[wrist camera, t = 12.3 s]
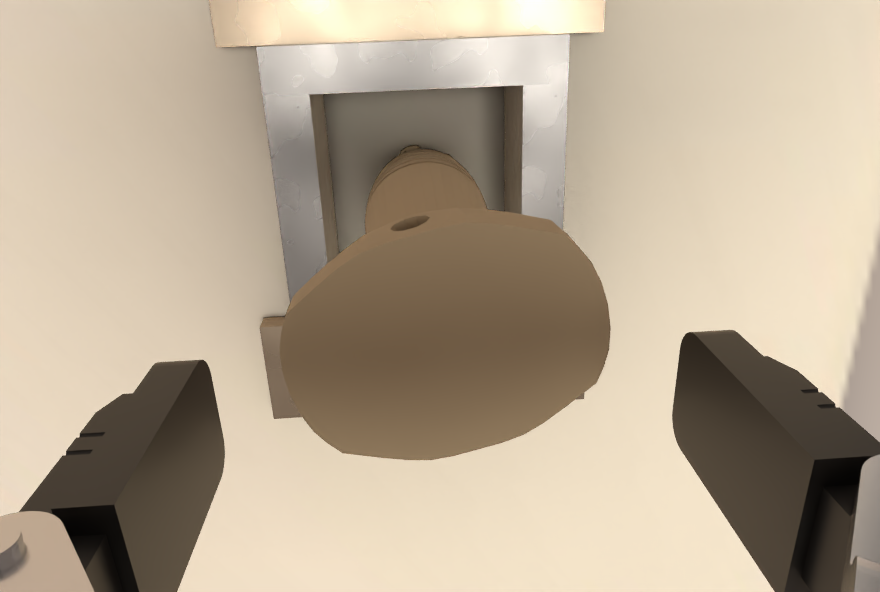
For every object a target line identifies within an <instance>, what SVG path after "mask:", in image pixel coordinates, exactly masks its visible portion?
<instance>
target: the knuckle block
mask: <svg viewBox="0 0 880 592" xmlns="http://www.w3.org/2000/svg"><path fill="white" fill-rule="evenodd" d="M605 2H606V0H209V5H210V12H211V18H212V25H213V31H214V37H215V44H216V47H237V46H260V47H256V51H257V59H258V66H259V74H260V81H261V89H262V96H263V104H264V111H265V119H266V126H267V133H268V141H269V148H270V156H271V163H272V171H273V178H274V186H275V193H276V201H277V208H278V215H279V223H280V230H281V238H282V245H283V253H284V260H285V268H286V275H287V283H288V290H289V298H290V303H291V300H292V298H293V296H294V295H295V294H296V293H297V292H298V291H299V290H300V289H301V288H302V287H303V286H304V285H305V284H306V283H307V282H308V281H309V280H310V279H311V278H312V277H313V276H314V275H315V274H316V273H318V272H319V271H320V270H321V269H322V268H323V267H324V266H325V265H326V264H327V263H329V262H330V261H331V260H332V259H334V258H335V257H336V256H337V255H338V254H339V248H338V238H337V228H336V218H335V208H334V198H333V188H332V178H331V168H330V158H329V148H328V138H327V128H326V118H325V108H324V98H323V94H333V93H356V92H379V91H402V90H425V89H449V88H472V87H495V86H505V105H504V212H511V213H517V214H523V215H528V216H533V217H538V218H543V219H549V220H551V221H553V222H554V223H555V224H556V225H557V226H558V227H560V228H561V229H562V230H563V212H564V185H565V157H566V130H567V102H568V75H569V47H570V34H562V33H587V32H604V21H605ZM262 45H269V46H262ZM284 319H285V317H267V318H264V319H263V321H262V323H261V326H260V333H261V339H262V346H263V352H264V358H265V365H266V371H267V378H268V384H269V391H270V397H271V403H272V410H273V416H274V419H279V418H294V417H302V416H301V414H300V413H299V411H298V409H297V407H296V405H295V403H294V401H293V400H292V398H291V396H290V394H289V391H288V388H287V385H286V382H285V379H284V376H283V373H282V366H281V359H280V352H279V349H280V339H281V331H282V327H283V323H284ZM576 399H584V393H583V394H581V395H580V396H579V397H578V398H576Z"/></svg>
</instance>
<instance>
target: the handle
mask: <svg viewBox="0 0 880 592" xmlns="http://www.w3.org/2000/svg"><path fill="white" fill-rule="evenodd" d="M365 230H366V234H365V235H363V236H362V237H361V238H359V239H358V240H356V241H355V242H354V243H352V244H351V245H350V246H348V247H347V248H346V249H344V250H343V251H342V252H341V253H340V254H338V255H337V256H336V257H335V258H334V259H332V260H331V261H330V262H329V263H327V264H326V265H325V266H324V267H323V268H322V269H321V270H320V271H319V272H318V273H316V274H315V275H314V276H313V277H312V278H311V279H310V280H309V281H308V282H307V283H306V284H305V285H304V286H303V287H302V288H301V289H300V290H299V291H298V292H297V293H296V294H295V295H294V296H293V298H292V300H291V303H290V305H289V307H288V310H287V313H286V315H285V319H284V323H283V327H282V331H281V339H280V349H279V352H280V359H281V366H282V373H283V376H284V379H285V382H286V385H287V388H288V391H289V394H290V396H291V398H292V400H293V401H294V403H295V405H296V407H297V409H298V411H299V413H300V414H301V416H302V417H303V418H304V420H305V421H306V422H307V424H308V425H309V426H310V427H311V429H312V430H313V431H314V432H315V433H316V434H317V435H318V436H320V437H321V438H322V439H323V440H324V441H326V442H327V443H328V444H330V445H331V446H333V447H334V448H336V449H337V450H339V451H341V452H342V453H346V454H355V455H363V456H372V457H381V458H392V459H403V460H434V459H439V458H444V457H450V456H455V455H459V454H462V453H466V452H470V451H473V450H477V449H481V448H484V447H488V446H492V445H495V444H499V443H502V442H505V441H508V440H510V439H513V438H516V437H518V436H521V435H524V434H525V433H527V432H529V431H531V430H532V429H534V428H536V427H537V426H539V425H541V424H542V423H544V422H545V421H547V420H548V419H550V418H551V417H552V416H554V415H555V414H556V413H558V412H559V411H560V410H562V409H563V408H565V407H566V406H567V405H568V404H570V403H571V402H572V401H574V400H575V399H576V398H578V397H579V396H580V395H581V394H583V393H584V392H585V391H587V390H588V389H589V388H590V387H592V386H593V385H594V384H596V382H597V380H598V378H599V376H600V374H601V372H602V369H603V367H604V364H605V361H606V357H607V354H608V351H609V341H610V319H609V310H608V303H607V300H606V296H605V293H604V290H603V286H602V283H601V280H600V278H599V277H598V275H597V273H596V271H595V269H594V267H593V265H592V263H591V261H590V260H589V259H588V258H587V256H586V255H585V254H584V253H583V252H582V251H581V249H580V248H579V247H578V246H577V245H576V244H575V242H574V241H573V240H572V239H571V238H570V237H569V236H568V235H567V234H566V233H565V232H564V231H563V230H562V229H561V228H560V227H558V226H557V225H556V224H555V223H554V222H553V221H551V220H549V219H543V218H538V217H533V216H528V215H523V214H517V213H511V212H504V211H496V210H487V207H486V204H485V201H484V198H483V196H482V194H481V192H480V190H479V188H478V186H477V184H476V182H475V181H474V179H473V178H472V176H471V175H470V174H469V173H468V171H467V170H466V169H465V168H464V167H463V166H461V165H460V164H459V163H458V162H457V161H456V160H454V159H453V158H452V157H451V156H450V155H449V154H444V153H442V152H439V151H435V150H431V149H421V148H420V147H419V146H418V145H413V146H408V147H406V148H404V149H402V150H401V152H400V155H399V156H397V157H395V158H394V159H393V160H391V161H390V162H389V163H388V164H387V165H386V166H385V167H384V168H383V170H382V171H381V172H380V174H379V175H378V177H377V179H376V181H375V183H374V185H373V187H372V189H371V192H370V195H369V198H368V202H367V208H366V215H365Z"/></svg>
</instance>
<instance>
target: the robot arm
mask: <svg viewBox="0 0 880 592" xmlns="http://www.w3.org/2000/svg"><path fill="white" fill-rule="evenodd" d="M672 419H673V429H674V434H675V437H676V440H677V443H678V445H679V447H680V449H681V451H682V452H683V454H684V455H685V457H686V458H687V460H688V461H689V463H690V464H691V466H692V467H693V469H694V470H695V472H696V473H697V475H698V476H699V478H700V479H701V481H702V482H703V484H704V485H705V487H706V489H707V490H708V492H709V493H710V495H711V496H712V498H713V499H714V501H715V502H716V504H717V505H718V507H719V508H720V510H721V511H722V513H723V514H724V516H725V517H726V519H727V520H728V522H729V523H730V525H731V526H732V528H733V529H734V531H735V532H736V534H737V535H738V537H739V538H740V540H741V541H742V543H743V544H744V546H745V547H746V549H747V550H748V552H749V553H750V555H751V556H752V558H753V559H754V561H755V562H756V564H757V566H758V567H759V569H760V570H761V572H762V573H763V575H764V576H765V578H766V579H767V581H768V582H769V584H770V585H771V587H772V588H773V590H774V591H775V592H880V442H878V441H877V440H876V439H875V438H874V437H873V436H872V435H870V434H869V433H868V432H867V431H866V430H864V428H862V427H861V426H860V425H859V424H858V423H857V422H856V421H854V420H853V419H852V418H851V417H850V416H849V415H847V414H846V413H845V412H844V411H843V410H842V409H841V408H836V407H835V403H834V402H833V401H831V400H830V399H829V398H828V397H827V396H826V395H825V394H823V393H822V392H818V388H817V387H815V386H814V385H813V384H812V383H811V382H810V381H808V380H807V379H806V378H805V377H804V376H803V375H802V374H800V373H799V372H798V371H797V370H795V369H793V368H791V367H789V366H786V365H784V364H782V363H780V362H778V361H776V360H774V359H772V358H770V357H768V356H765V357H764V356H763V355H761V354H760V353H759V352H758V351H757V350H756V349H755V348H754V347H753V346H752V345H750V344H749V343H748V342H747V341H746V340H745V339H744V338H743V337H742V336H741V335H740V334H738V333H737V332H736V331H734V330H722V331H705V332H689V333H687V334H686V335H685V336H684V337H683V340H682V343H681V347H680V355H679V363H678V371H677V379H676V387H675V396H674V404H673V413H672ZM224 458H225V449H224V439H223V433H222V428H221V423H220V418H219V413H218V408H217V403H216V398H215V393H214V387H213V382H212V377H211V373H210V369H209V367H208V364H207V363H206V362H205V361H204V360H192V361H175V362H158V363H155V364H154V365H153V366H152V368H151V369H150V371H149V372H148V373H147V375H146V376H145V378H144V379H143V380H142V382H141V383H140V385H139V386H138V387H137V389H136V390H135V392H134V393H133V394H122V395H121V396H119V397H118V398H116V399H115V400H114V401H112V402H111V403H109V404H108V405H106V406H105V407H103V408H102V409H101V410H99V411H98V412H96V413H95V414H94V416H93V417H92V418H91V420H90V421H89V422H88V424H87V425H86V426H85V427H84V429H83V430H82V431H81V433H80V438H76V439H75V440H74V442H73V443H72V444H71V445H70V447H69V448H68V449H67V451H66V456H62V457H61V458H60V460H59V461H58V462H57V464H56V465H55V466H54V467H53V469H52V470H51V471H50V473H49V474H48V475H47V476H46V478H45V479H44V480H43V482H42V483H41V484H40V485H39V487H38V488H37V489H36V491H35V492H34V493H33V495H32V496H31V497H30V498H29V500H28V501H27V502H26V504H25V505H24V506H23V507H22V509H21V510H20V511H19V512H17V513H12V514H8V515H4V516H1V517H0V592H177V590H178V588H179V585H180V583H181V580H182V578H183V575H184V572H185V570H186V567H187V565H188V562H189V560H190V557H191V554H192V552H193V549H194V547H195V544H196V542H197V539H198V536H199V534H200V531H201V529H202V526H203V523H204V521H205V518H206V516H207V513H208V511H209V508H210V505H211V503H212V500H213V498H214V495H215V493H216V490H217V487H218V485H219V482H220V480H221V477H222V473H223V468H224Z"/></svg>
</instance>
